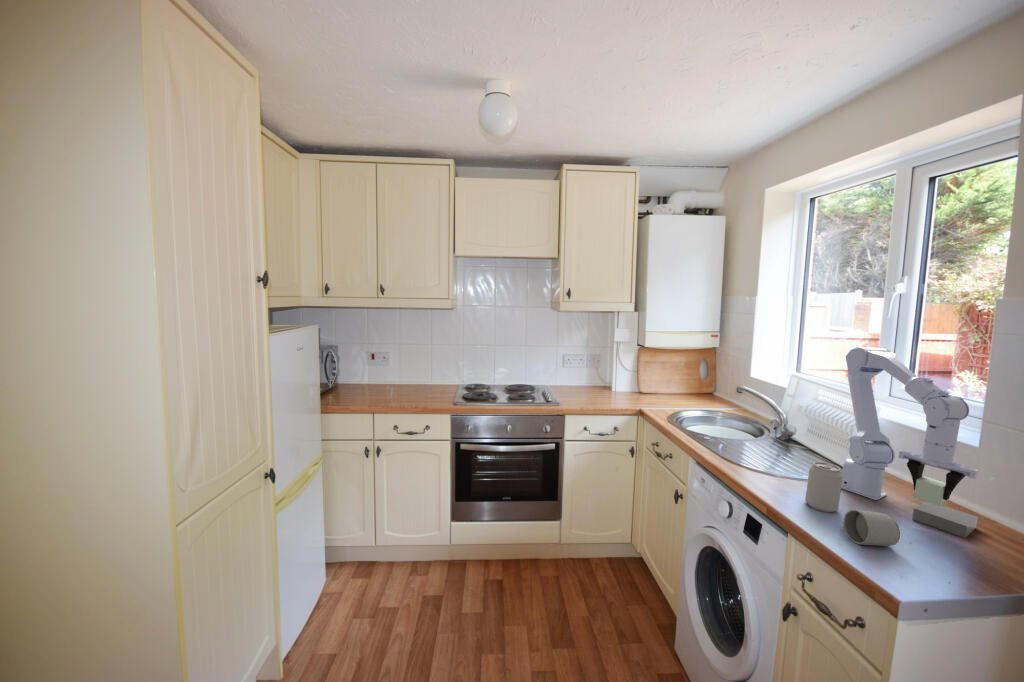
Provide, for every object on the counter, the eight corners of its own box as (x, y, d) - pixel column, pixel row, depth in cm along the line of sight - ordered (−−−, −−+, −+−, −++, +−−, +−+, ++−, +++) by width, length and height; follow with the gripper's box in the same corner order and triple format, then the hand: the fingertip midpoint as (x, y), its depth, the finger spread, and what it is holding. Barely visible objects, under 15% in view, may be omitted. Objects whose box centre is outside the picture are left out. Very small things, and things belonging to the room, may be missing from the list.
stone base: (912, 518, 116) (914, 508, 115) (924, 510, 121) (926, 500, 121) (964, 537, 107) (967, 526, 107) (975, 528, 113) (977, 517, 112)
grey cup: (901, 553, 99) (905, 520, 98) (865, 551, 99) (870, 519, 98) (863, 528, 109) (867, 499, 109) (831, 527, 109) (835, 497, 109)
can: (798, 502, 122) (804, 461, 120) (815, 499, 125) (821, 458, 123) (826, 515, 115) (833, 472, 113) (844, 511, 118) (850, 469, 116)
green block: (913, 497, 113) (916, 479, 112) (920, 493, 115) (923, 475, 115) (939, 506, 109) (942, 487, 108) (946, 502, 111) (949, 483, 111)
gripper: (897, 436, 114) (889, 485, 116) (975, 455, 102) (965, 510, 104) (907, 433, 118) (899, 480, 120) (984, 451, 106) (974, 504, 107)
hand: (931, 494), depth 112 cm, fingers closed on green block, 5 cm apart
